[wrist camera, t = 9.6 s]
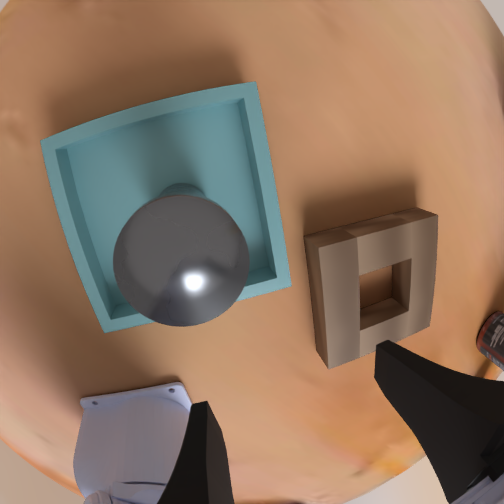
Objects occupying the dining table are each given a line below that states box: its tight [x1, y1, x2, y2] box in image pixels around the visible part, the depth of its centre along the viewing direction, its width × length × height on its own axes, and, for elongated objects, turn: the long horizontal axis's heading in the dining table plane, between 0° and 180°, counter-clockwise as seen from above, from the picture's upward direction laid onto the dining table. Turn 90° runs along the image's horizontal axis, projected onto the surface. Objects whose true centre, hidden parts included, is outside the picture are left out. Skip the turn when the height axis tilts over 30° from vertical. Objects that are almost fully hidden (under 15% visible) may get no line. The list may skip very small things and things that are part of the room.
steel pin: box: [113, 183, 250, 326], centre depth 14 cm, size 4×4×9 cm
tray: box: [40, 82, 292, 333], centre depth 17 cm, size 12×12×2 cm
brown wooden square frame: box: [304, 208, 438, 369], centre depth 22 cm, size 10×10×2 cm
